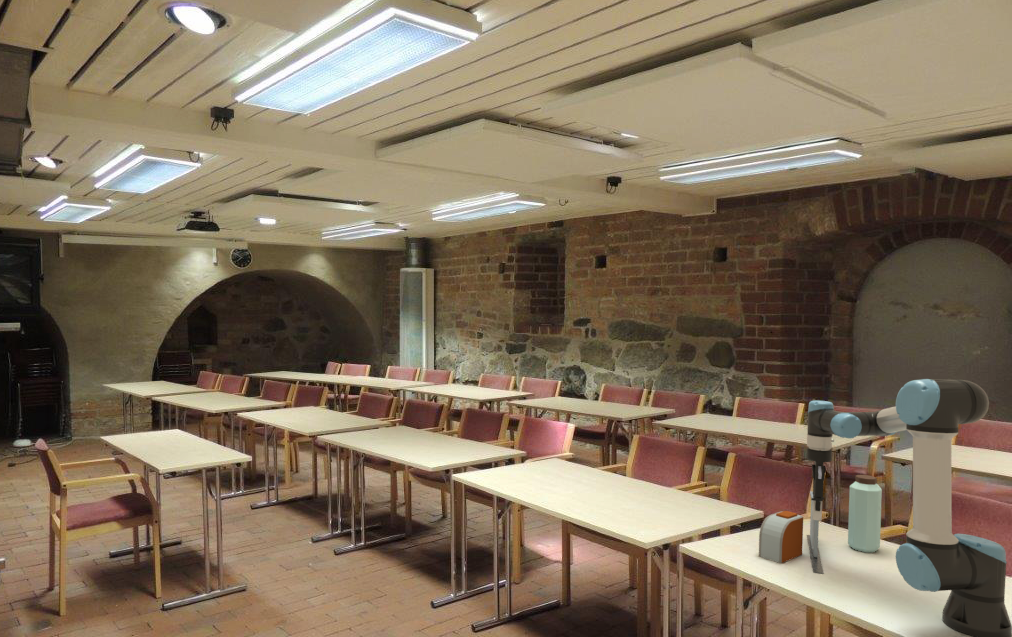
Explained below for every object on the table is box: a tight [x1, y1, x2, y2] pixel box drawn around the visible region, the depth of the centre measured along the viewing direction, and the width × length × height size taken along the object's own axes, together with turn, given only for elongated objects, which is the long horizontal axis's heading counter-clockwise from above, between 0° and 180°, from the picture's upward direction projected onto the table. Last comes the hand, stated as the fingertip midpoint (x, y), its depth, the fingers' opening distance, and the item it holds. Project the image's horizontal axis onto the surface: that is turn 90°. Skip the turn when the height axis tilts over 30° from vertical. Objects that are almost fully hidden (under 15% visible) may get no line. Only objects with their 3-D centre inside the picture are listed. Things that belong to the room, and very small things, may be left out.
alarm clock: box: [758, 510, 804, 564], centre depth 235 cm, size 15×8×14 cm, turn 130°
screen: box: [809, 490, 820, 557], centre depth 242 cm, size 22×2×16 cm, turn 160°
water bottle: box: [847, 474, 883, 553], centre depth 243 cm, size 10×10×25 cm
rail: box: [806, 534, 825, 575], centre depth 237 cm, size 39×3×1 cm, turn 160°
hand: (816, 519), depth 230 cm, fingers closed
